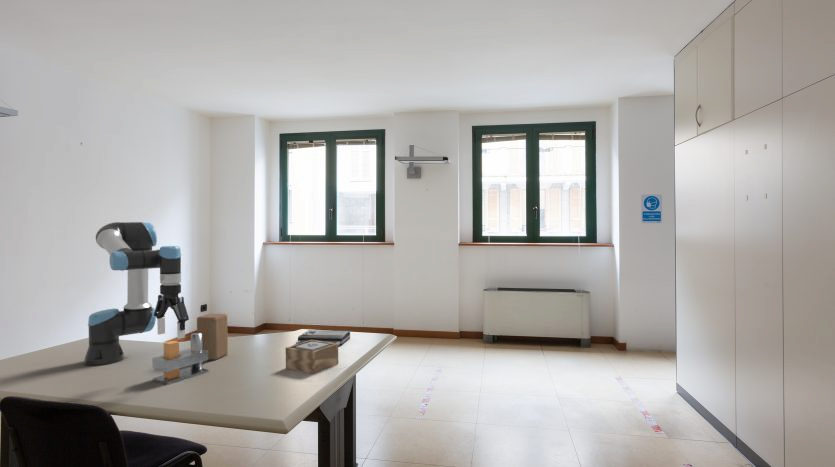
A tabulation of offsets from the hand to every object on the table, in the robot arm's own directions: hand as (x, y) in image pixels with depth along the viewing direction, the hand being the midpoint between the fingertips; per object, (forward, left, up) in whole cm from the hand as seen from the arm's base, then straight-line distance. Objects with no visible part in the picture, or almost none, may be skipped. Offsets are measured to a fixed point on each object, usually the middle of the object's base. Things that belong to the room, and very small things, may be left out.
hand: (171, 336), depth 185 cm
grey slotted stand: (0, +4, -17) cm, 18 cm away
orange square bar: (0, 0, -17) cm, 17 cm away
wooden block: (-13, +28, -18) cm, 35 cm away
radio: (+15, +74, -18) cm, 78 cm away
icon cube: (+41, +38, -18) cm, 59 cm away
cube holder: (+39, +40, -17) cm, 59 cm away
